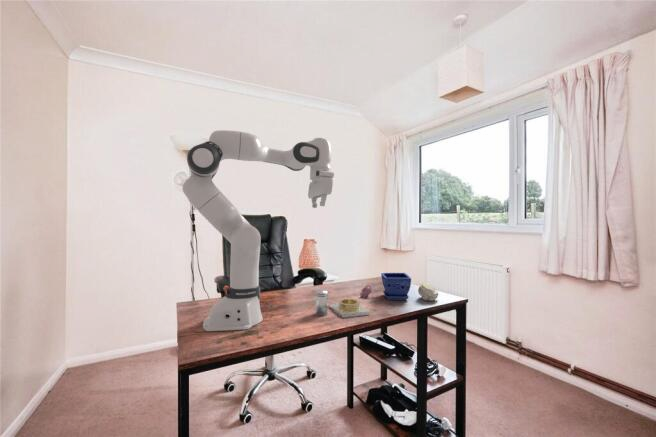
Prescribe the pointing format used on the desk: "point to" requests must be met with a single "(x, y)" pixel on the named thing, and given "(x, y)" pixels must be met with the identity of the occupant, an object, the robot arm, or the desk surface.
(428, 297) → the fossil replica
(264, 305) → the desk surface
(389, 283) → the flower pot
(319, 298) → the salt shaker
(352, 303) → the gold ring on slab
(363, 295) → the purple stone
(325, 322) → the desk surface
